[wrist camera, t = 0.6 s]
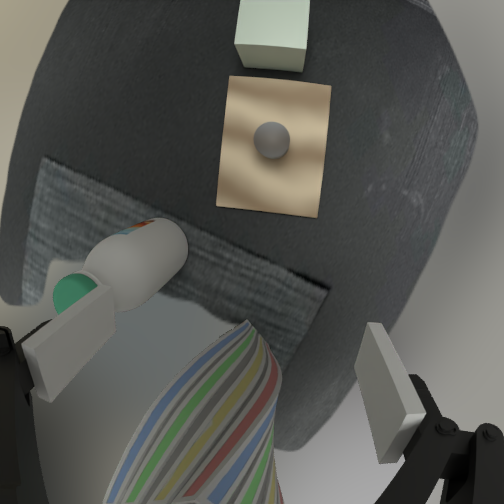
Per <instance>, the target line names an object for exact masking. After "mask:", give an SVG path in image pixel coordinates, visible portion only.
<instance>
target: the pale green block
mask: <svg viewBox="0 0 504 504" xmlns="http://www.w3.org/2000/svg"><path fill="white" fill-rule="evenodd" d="M309 5H310V0H241V1H240V8H239V14H238V21H237V28H236V35H235V42H234V44H235V47H236V49H237V51H238V54H239V56H240V58H241V61H242V63H243V65H244V67H246V68H262V69H274V70H285V71H294V72H303V66H304V60H305V54H306V47H307V34H308V20H309Z"/></svg>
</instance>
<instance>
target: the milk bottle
mask: <svg viewBox="0 0 504 504" xmlns="http://www.w3.org/2000/svg"><path fill="white" fill-rule="evenodd" d="M187 256H188V243H187V239H186V236H185V234H184V233H183V231H182V230H181V228H180V227H179V226H178V225H177V224H175V223H174V222H172V221H171V220H168V219H165V218H152V219H149V220H146V221H144V222H141V223H139V224H136V225H134V226H131V227H129V228H127V229H124V230H122V231H120V232H117V233H115V234H113V235H111V236H109V237H107V238H106V239H104V240H102V241H101V242H100V243H98V244H97V245H96V246H95V247H94V248H93V249H92V250H91V252H90V253H89V255H88V256H87V258H86V260H85V263H84V265H83V267H82V269H81V271H76V272H73V273H72V274H70V275H68V276H66V277H64V278H63V279H61V280H60V281H59V282H58V283H57V285H56V286H55V288H54V292H53V301H54V306H55V309H56V311H57V313H58V315H59V314H61V313H62V312H63V311H65V310H66V309H67V308H69V307H70V306H71V305H73V304H74V303H75V302H77V301H78V300H79V299H81V298H82V297H84V296H85V295H86V294H88V293H89V292H90V291H92V290H93V289H95V288H96V287H97V286H99V285H100V284H102V285H107V286H112V289H113V303H114V312H126V311H130V310H132V309H135V308H137V307H139V306H140V305H142V304H143V303H145V302H146V301H147V300H149V299H150V298H151V297H152V296H153V295H154V294H155V293H156V292H157V291H158V290H159V289H161V288H162V287H163V286H164V285H165V284H166V283H167V282H168V281H169V280H170V279H171V278H172V277H173V276H174V275H175V274H176V273H177V272H178V271H179V270H180V269H181V267H182V266H183V265H184V263H185V261H186V259H187Z"/></svg>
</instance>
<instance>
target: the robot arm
mask: <svg viewBox="0 0 504 504" xmlns="http://www.w3.org/2000/svg"><path fill="white" fill-rule="evenodd" d="M115 332H116V325H115V314H114V303H113V289H112V286H107V285H102V284H100V285H99V286H97V287H96V288H95V289H93V290H92V291H90V292H89V293H88V294H86V295H85V296H84V297H82V298H81V299H79V300H78V301H77V302H75V303H74V304H73V305H71V306H70V307H69V308H67V309H66V310H65V311H63V312H62V313H61V314H59V315H58V316H57V317H55V318H54V319H51V320H48V321H46V322H43V323H41V324H40V325H39V326H37V327H36V329H33V330H32V331H31V332H30V333H28V334H27V335H26V336H24V337H23V338H22V339H20V340H19V341H18V342H17V343H16V344H14V340H13V337H12V332H11V330H10V329H9V328H8V327H5V326H0V504H49V502H48V498H47V495H46V490H45V486H44V481H43V476H42V471H41V467H40V461H39V454H38V448H37V441H36V434H35V425H34V416H33V405H32V396H31V393H30V390H31V389H32V388H33V387H35V389H36V392H37V395H38V397H40V398H42V399H44V400H46V401H48V402H52V401H53V400H54V399H55V398H56V397H57V395H58V394H59V393H60V392H61V391H62V390H63V389H64V387H65V386H66V385H67V384H68V383H69V382H70V381H71V380H72V379H73V377H74V376H75V375H76V374H77V373H78V372H79V371H80V370H81V369H82V368H83V367H84V365H85V364H86V363H87V362H88V361H89V360H90V359H91V358H92V357H93V356H94V354H96V352H97V351H98V350H99V349H100V348H101V347H102V346H103V345H104V344H105V343H106V342H107V341H108V340H109V338H110V337H111V336H112V335H113V334H114V333H115ZM354 369H355V372H356V376H357V379H358V383H359V386H360V390H361V394H362V397H363V401H364V405H365V409H366V413H367V416H368V420H369V424H370V428H371V432H372V436H373V440H374V445H375V449H376V453H377V457H378V462H379V464H384V463H397V462H398V460H399V458H400V457H401V455H402V454H404V457H405V462H404V464H403V465H402V467H401V468H400V470H399V471H398V472H397V474H396V476H395V477H394V478H393V480H392V481H391V482H390V484H389V485H388V486H387V488H386V489H385V491H384V492H383V493H382V494H381V496H380V497H379V498H378V500H377V501H376V502H375V503H374V504H425V503H426V502H427V500H428V498H429V496H430V495H431V493H432V491H433V489H434V487H435V485H436V483H437V481H438V479H439V478H440V479H444V485H443V490H442V495H441V500H440V504H504V436H503V433H502V431H501V430H500V429H499V428H498V427H497V426H495V425H492V424H490V423H484V424H481V425H480V426H479V427H478V428H477V429H476V431H475V432H468V431H461V430H459V427H458V425H457V424H456V423H455V422H454V421H452V420H451V419H449V418H446V417H442V415H441V413H440V411H439V409H438V407H437V405H436V403H435V401H434V399H433V397H431V394H430V391H428V388H427V386H426V384H425V382H424V381H423V380H422V379H421V378H420V377H419V376H418V375H416V374H415V375H414V374H409V375H408V374H407V372H406V370H405V368H404V366H403V364H402V362H401V360H400V358H399V356H398V354H397V352H396V350H395V348H394V346H393V344H392V342H391V340H390V338H389V336H388V335H387V333H386V331H385V329H384V327H383V325H382V323H372V322H367V325H366V329H365V332H364V336H363V340H362V343H361V346H360V350H359V353H358V356H357V360H356V363H355V366H354Z"/></svg>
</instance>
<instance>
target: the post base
mask: <svg viewBox="0 0 504 504" xmlns="http://www.w3.org/2000/svg"><path fill="white" fill-rule="evenodd" d="M330 96H331V86H328V85H321V84H314V83H307V82H299V81H291V80H281V79H270V78H258V77H241V76H230V77H229V86H228V94H227V102H226V111H225V120H224V129H223V138H222V148H221V158H220V168H219V178H218V189H217V201H216V206H221V207H230V208H239V209H248V210H257V211H266V212H274V213H282V214H290V215H298V216H306V217H313V218H317V215H318V207H319V200H320V192H321V184H322V175H323V167H324V158H325V149H326V139H327V129H328V119H329V108H330Z"/></svg>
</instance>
